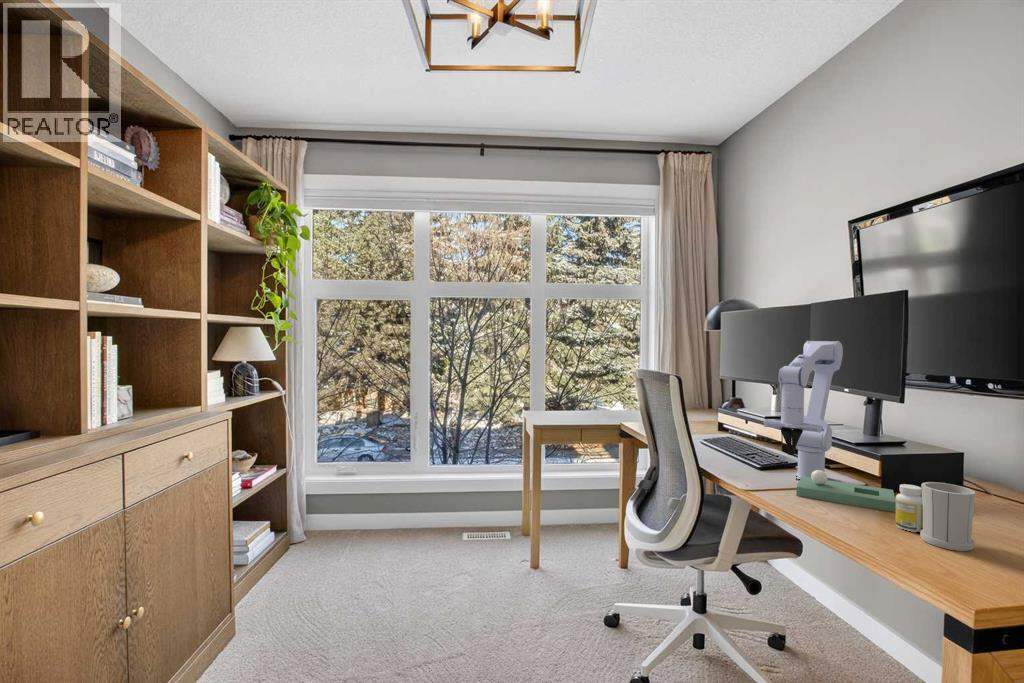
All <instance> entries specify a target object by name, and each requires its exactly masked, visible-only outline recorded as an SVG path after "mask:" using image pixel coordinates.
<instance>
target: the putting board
mask: <svg viewBox="0 0 1024 683" xmlns="http://www.w3.org/2000/svg"><path fill="white" fill-rule="evenodd" d="M795 490H796V493H795V494H796V496H797V497H802V498H807V499H808V498H809V499H814V500H820V501H825V502H826V501H827V502H832V503H839V504H843V505H844V504H845V505H852V506H855V507H861V508H869V509H874V510H879V509H880V511H888V512H891V511H893V512H892V513H896V495H895V493H894V489H889V488H882V487H875V486H868V485H862V484H855V483H849V482H842V481H835V480H829V479H827V482H826V483H825V484H822V485H819V484H816V483H814V482H813V481H812V479H811V478H810V477H803V476H801V477H800V480H799V479H798V482H797V485H796V489H795Z"/></svg>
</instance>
